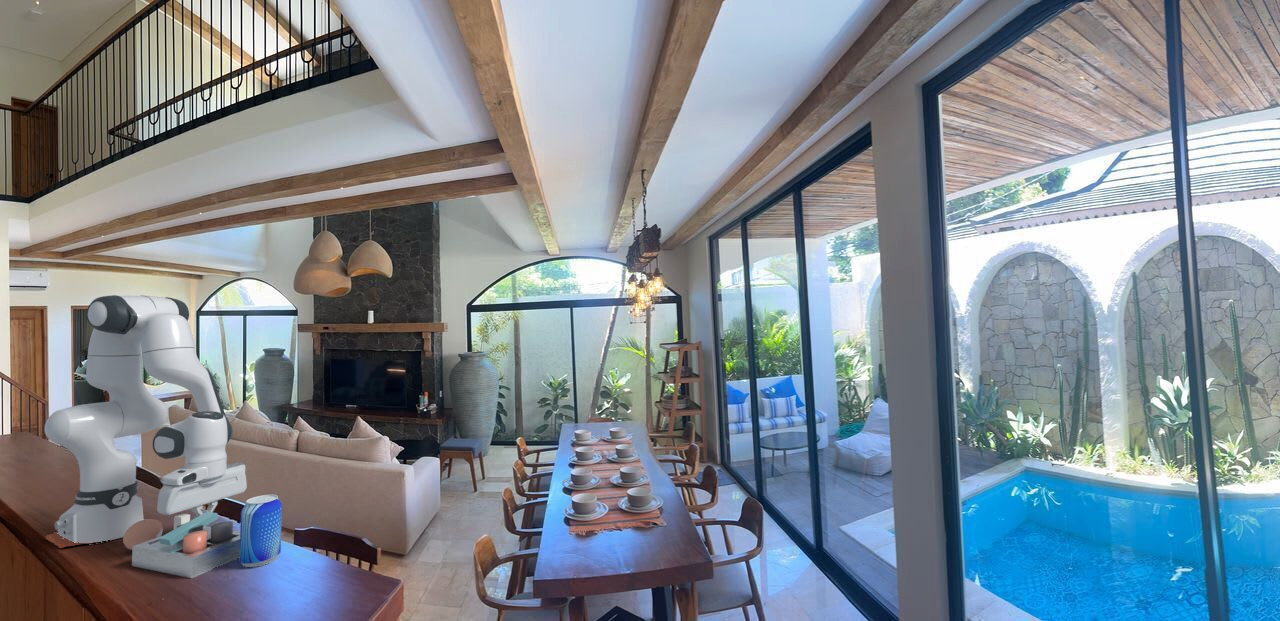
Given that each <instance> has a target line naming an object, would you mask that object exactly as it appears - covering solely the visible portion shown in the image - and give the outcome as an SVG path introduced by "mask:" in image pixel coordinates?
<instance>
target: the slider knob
mask: <svg viewBox="0 0 1280 621" xmlns="http://www.w3.org/2000/svg"><path fill="white" fill-rule="evenodd" d="M173 518H174V519H173V530H174V529H176V528H177V526H178V525H182V524H185V523H187V522H189V521H191V514H188V513H181V514H177V515H175V516H173Z"/></svg>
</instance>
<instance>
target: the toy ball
mask: <svg viewBox="0 0 1280 621" xmlns="http://www.w3.org/2000/svg"><path fill="white" fill-rule="evenodd" d="M144 519H145V520H141V521H138V522H136V523H135V524H133V525H132V526H130V527H129V528H128V529H127V531H126V532H125V534H124V537H122V541H123V543H122V544H124V546H125V548H126V549H128V550H131V551H132V547H133V546H134V545H137V544H140V543H143V542H146V541H149V540H152V539H155V538H158V537H161V536H163V529H164V528H163V523H162V521H161V520H157V519H155V518H144Z"/></svg>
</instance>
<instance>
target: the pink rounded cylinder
mask: <svg viewBox="0 0 1280 621" xmlns="http://www.w3.org/2000/svg"><path fill="white" fill-rule="evenodd" d="M206 548H207V531H196V532H192V533H189V534H186V535H185V536H184V537H183V553H184V554H189V555H190V554H193V553H195V552H198V551H200V550H203V549H206Z"/></svg>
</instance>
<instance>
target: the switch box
mask: <svg viewBox="0 0 1280 621" xmlns="http://www.w3.org/2000/svg"><path fill="white" fill-rule="evenodd" d="M182 525H184V524H182ZM182 525H178V526H177V528H178V527H180V526H182ZM196 531H207V548H206V549H203V550H200V551H198V552H195V553H193V554H190V555H189V554H184V553H183V539H182V540H180V541H178V542H177V543H175V544H173V545H171V546H170V545H165V544H160V541H159V538H160V537H158V538H155V539H152V540H149V541H146V542H143V543H140V544H137V545H134V546H133V547H132V550H131V551H132V552H131V566H132V567H136V568H141V569H145V570H150V571H154V572H155V571H156V572H160V573H164V574H169V575H173V576H174V575H175V576H178V577H179V576H180V577H184V578H187V579H193V578H196V577H198V576H200V575H203V574H206V573H208V572H210V571H212V569H213V568H215V567H217V568H219V567H218V566H220V567H222V566H224V565H226V563H227V564H229V563H231V562H234V561H236V560H238V559H237V558H239V557H240V531H239V530H233V537H232V539H229V540H227V541H224V542H221V543H219V544H214V543H210V539H211V526H210V525H206V526H205V527H203V525H199V526H196V527H193V528H191V530H190V533H192V532H196ZM162 536H163V535H161V537H162ZM235 559H236V560H235ZM233 560H234V561H233ZM230 561H231V562H230ZM228 562H229V563H228ZM223 564H224V565H223ZM221 565H222V566H221ZM215 569H216V568H215ZM213 570H214V569H213Z"/></svg>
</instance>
